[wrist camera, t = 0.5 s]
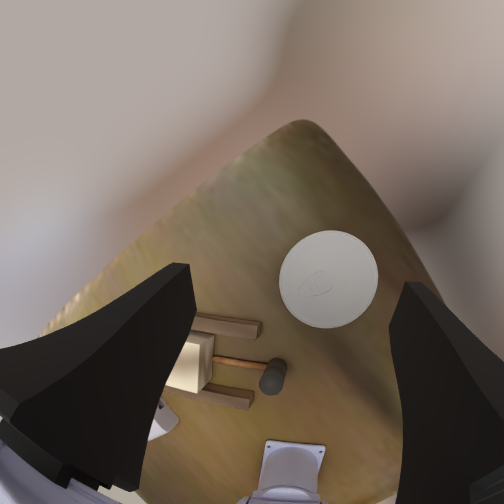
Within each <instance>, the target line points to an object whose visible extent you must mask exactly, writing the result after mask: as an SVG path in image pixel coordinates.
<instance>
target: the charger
mask: <svg viewBox="0 0 504 504" xmlns="http://www.w3.org/2000/svg"><path fill="white" fill-rule="evenodd" d="M160 401H161V402H162V403H163V404H162V403H161V402H160ZM163 405H164V406H163ZM178 422H179V419H178V417H177V416H176V415H175V414H174V412H173V411H172V410H171V409H170V407H169V406H168V405H167V403H166V402H165V401H164V400H163V398H162V397H160V400H159V403H158V406H157V410H156V413H155V416H154V419H153V423H152V426H151V430H150V434H149V437H148V441H149V440H152V439H154V438H156V437H159V436H161V435H163V434H166V433H168V432H170V431H171V430H172V429H173V428H174V427H175V426H176V425H177V423H178Z"/></svg>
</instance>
